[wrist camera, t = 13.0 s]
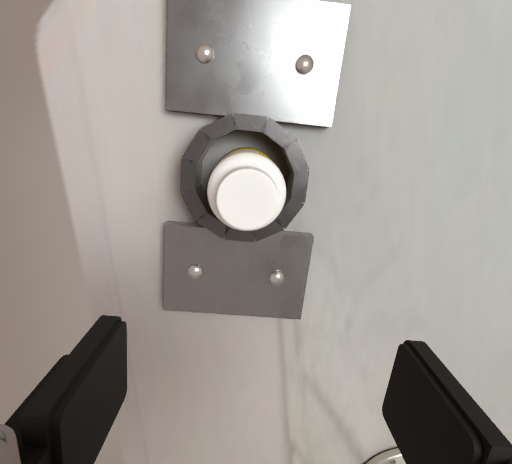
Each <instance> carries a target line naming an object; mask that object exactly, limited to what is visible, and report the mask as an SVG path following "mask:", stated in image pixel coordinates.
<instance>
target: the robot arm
mask: <svg viewBox="0 0 512 464" xmlns="http://www.w3.org/2000/svg"><path fill="white" fill-rule="evenodd" d="M126 392H127V328H126V322H124V321H121V317H118V316H106V315H102V316H101V317H100V318H99V319H98V320H97V321H96V322H95V324H94V325H93V326H92V327H91V329H90V330H89V331H88V332H87V333H86V335H85V336H84V337H83V338H82V339H81V341H80V342H79V343H78V344H77V346H76V347H75V348H74V349H73V350H72V352H71V353H70V354H69V355H64V356H63V357H62V358H60V359H59V361H58V362H57V363H56V364H55V365H54V366H53V368H52V369H51V370H50V372H48V374H47V375H46V376H45V377H44V378H43V379H42V381H41V382H40V383H39V384H38V385H37V386H36V388H35V389H34V390H33V391H32V392H31V394H30V395H29V396H28V397H27V398H26V399H25V401H24V402H23V403H22V404H21V405H20V407H19V408H18V409H17V410H16V411H15V412H14V414H13V415H12V416H11V417H10V418H9V420H8V421H7V422H6V423H5V424H4V425H1V424H0V464H94V462H95V460H96V458H97V456H98V454H99V452H100V450H101V447H102V445H103V443H104V441H105V439H106V437H107V435H108V433H109V431H110V428H111V426H112V424H113V422H114V420H115V418H116V416H117V414H118V412H119V410H120V408H121V405H122V403H123V401H124V399H125V396H126ZM382 412H383V416H384V419H385V421H386V423H387V425H388V427H389V429H390V432H391V434H392V436H393V438H394V440H395V442H396V444H397V446H398V448H396V449H392V450H388V451H386V452H383V453H381V454H379V455H377V456H375V457H374V458H372V459H371V460H370V461H368V462H367V463H366V464H512V444H511V443H510V442H509V441H508V440H507V438H506V437H505V436H504V435H503V434H502V433H501V431H500V430H499V429H498V428H497V427H496V425H495V424H494V423H493V422H492V421H491V420H490V418H489V417H488V416H487V415H486V414H485V413H484V411H483V410H482V409H481V408H480V407H479V405H478V404H477V403H476V402H475V401H474V400H473V398H472V397H471V396H470V395H469V394H468V392H467V391H466V390H465V389H464V388H463V387H462V385H461V384H460V383H459V382H458V381H457V380H456V378H455V377H454V376H453V375H452V374H451V372H450V371H449V370H448V369H447V368H446V367H445V365H444V364H443V363H442V362H441V361H440V359H439V358H438V357H437V356H436V355H435V354H434V352H433V351H432V350H431V349H430V348H429V347H428V345H427V344H426V343H425V342H422V341H411V340H406V341H405V342H404V343H403V344H400V345H399V347H398V350H397V354H396V358H395V362H394V365H393V369H392V373H391V376H390V380H389V384H388V387H387V391H386V395H385V398H384V402H383V406H382Z"/></svg>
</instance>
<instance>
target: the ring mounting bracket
mask: <svg viewBox="0 0 512 464" xmlns="http://www.w3.org/2000/svg"><path fill="white" fill-rule="evenodd" d="M350 8H351V5H348V4H341V3H333V2H325V1H317V0H168V10H167V85H166V110H172V111H181V112H191V113H200V114H210V115H219V116H225V117H223V118H221V119H219V120H216V121H214V122H212V123H210V124H208V125H206V126H204V127H202V129H200V130H199V131H198V133H197V134H196V136H195V138H194V139H193V141H192V142H191V144H190V145H189V147H188V149H187V150H186V152H185V153H184V155H183V156H182V157H183V159H181V191H183V192H182V193H181V194H182V196H183V198H184V200H185V202H186V204H187V206H188V207H189V209H190V211H191V213H192V215H193V217H194V219H195V221H197V220H198V222H197V223H186V222H174V221H167V222H166V223H165V234H164V308H163V310H174V311H188V312H202V313H217V314H231V315H245V316H259V317H274V318H288V319H301V313H302V307H303V301H304V294H305V288H306V282H307V276H308V270H309V263H310V257H311V251H312V245H313V238H314V237H313V235H312V234H311V233H302V232H291V231H282V230H284V229H283V227H284V228H285V229H286V227H287V226H288V225H289V223H290V222H291V221H292V219H293V218H294V217H295V216H296V214H297V213H298V212H299V210H300V209H301V208H302V207H303V205H304V204H303V203H305V198H306V191H307V184H308V177H309V171H308V170H309V168H308V165H307V163H306V160H305V158H304V155H303V153H302V150H301V148H300V145H299V143H298V140H297V139H295V138H296V137H294V136H293V135H292V134H291V133H289V132H288V131H287V130H285V129H284V128H283V127H281V126H280V125H279V124H278V123H276V122H286V123H295V124H305V125H314V126H324V127H332V120H333V114H334V108H335V102H336V95H337V89H338V83H339V77H340V71H341V64H342V58H343V52H344V46H345V39H346V33H347V27H348V21H349V15H350ZM275 121H276V122H275ZM236 129H237V130H247V131H256V132H262V133H263V134H264V135H266V136H267V137H268V138H270V139H271V140H272V141H274V142H275V143H276V144H278V145H279V146H280V147H281V150H282V152H283V155H284V157H285V159H286V162H287V164H288V167H289V173H288V181H287V189H286V199H285V203H284V206H283V208H282V210H281V212H280V214H279V215H278V216H277V217H276V219H275V220H274V221H272V222H271V223H270V224H268V225H267V226H265V227H263V228H260V229H257V230H252V231H241V230H237V229H233V228H231V227H229V226H227V225H225V224H224V223H223V222H221V221H220V220H219V219H218V218H217V217H216V215H215V214H214V213H213V211H212V209H211V207H210V204H209V201H208V196H207V194H206V192H205V190H204V188H203V186H202V184H201V171H202V159H203V157H204V156H205V154H206V153H207V151H208V150H209V148H210V147H211V145H212V144H213V142H214V141H215V140H216V139H218V138H220V137H222V136H224V135H226V134H228V133H230V132H232V131H234V130H236ZM302 202H303V203H302ZM198 223H199V224H198Z"/></svg>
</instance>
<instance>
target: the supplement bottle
mask: <svg viewBox="0 0 512 464" xmlns="http://www.w3.org/2000/svg"><path fill="white" fill-rule="evenodd" d="M207 195H208V201H209V204H210V207H211V209H212V211H213V213H214V214H215V215H216V217H217V218H218V219H219V220H220V221H221V222H223V223H224V224H225V225H227V226H229V227H231V228H233V229H237V230H241V231H252V230H257V229H260V228H263V227H265V226H267V225H268V224H270V223H271V222H272V221H274V220H275V219H276V217H277V216H278V215H279V214H280V212H281V210H282V208H283V206H284V203H285V199H286V185H285V181H284V178H283V175H282V173H281V172H280V170H279V168H278V167H277V166H276V165H275V164H274V163H273V162H272V160H271V159H270V158H269V157H268V156H267V155H266V154H264V153H263V152H261V151H259V150H257V149H254V148H247V147H244V148H238V149H235V150H233V151H231V152H229V153H228V154H227V155H226V156H225V157H224V158H223V159H222V160H221V161H220V162H219V163H218V165H217V166H216V167H215V169H214V170H213V172H212V174H211V176H210V179H209V182H208V188H207Z"/></svg>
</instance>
